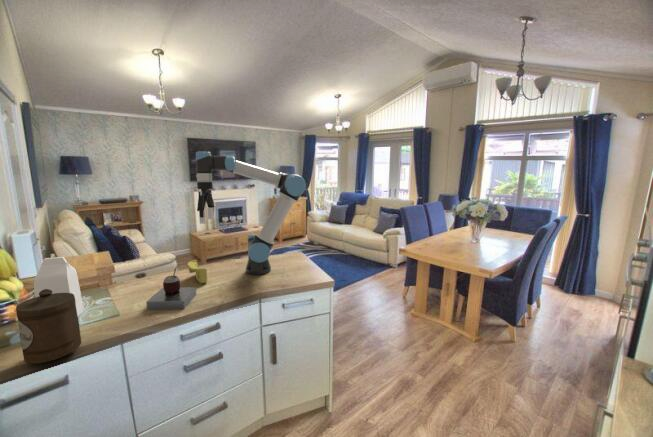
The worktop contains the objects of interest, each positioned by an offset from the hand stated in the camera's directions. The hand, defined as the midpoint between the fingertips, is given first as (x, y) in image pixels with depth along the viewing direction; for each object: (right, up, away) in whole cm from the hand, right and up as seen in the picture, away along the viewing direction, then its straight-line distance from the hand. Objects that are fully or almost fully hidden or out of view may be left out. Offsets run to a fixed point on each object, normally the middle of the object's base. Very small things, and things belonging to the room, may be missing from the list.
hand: (206, 221), depth 162 cm
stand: (-8, -38, -19) cm, 43 cm away
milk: (-47, -40, -35) cm, 71 cm away
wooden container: (-30, -44, -58) cm, 79 cm away
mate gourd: (-8, -34, -19) cm, 40 cm away
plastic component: (-10, -34, +10) cm, 37 cm away
